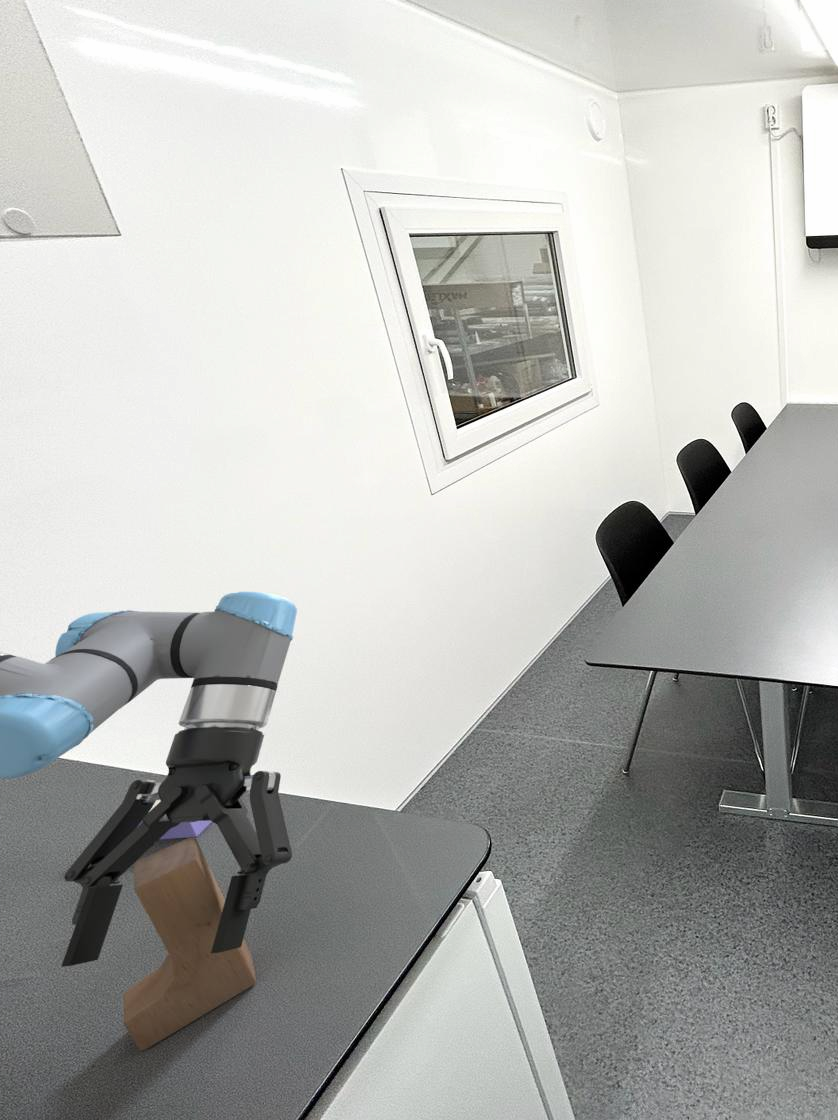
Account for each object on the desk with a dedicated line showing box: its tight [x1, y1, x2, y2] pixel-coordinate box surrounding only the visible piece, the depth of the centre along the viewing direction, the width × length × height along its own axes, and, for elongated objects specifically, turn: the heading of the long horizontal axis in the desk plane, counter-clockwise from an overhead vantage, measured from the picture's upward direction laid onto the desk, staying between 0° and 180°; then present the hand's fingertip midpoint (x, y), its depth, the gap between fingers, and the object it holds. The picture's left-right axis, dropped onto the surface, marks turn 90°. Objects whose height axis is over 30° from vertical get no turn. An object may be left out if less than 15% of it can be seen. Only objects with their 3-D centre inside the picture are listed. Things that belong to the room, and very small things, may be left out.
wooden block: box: [123, 837, 257, 1051], centre depth 62 cm, size 9×4×18 cm, turn 136°
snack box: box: [138, 800, 213, 841], centre depth 87 cm, size 10×4×4 cm, turn 94°
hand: (153, 957), depth 61 cm, fingers open, 13 cm apart
